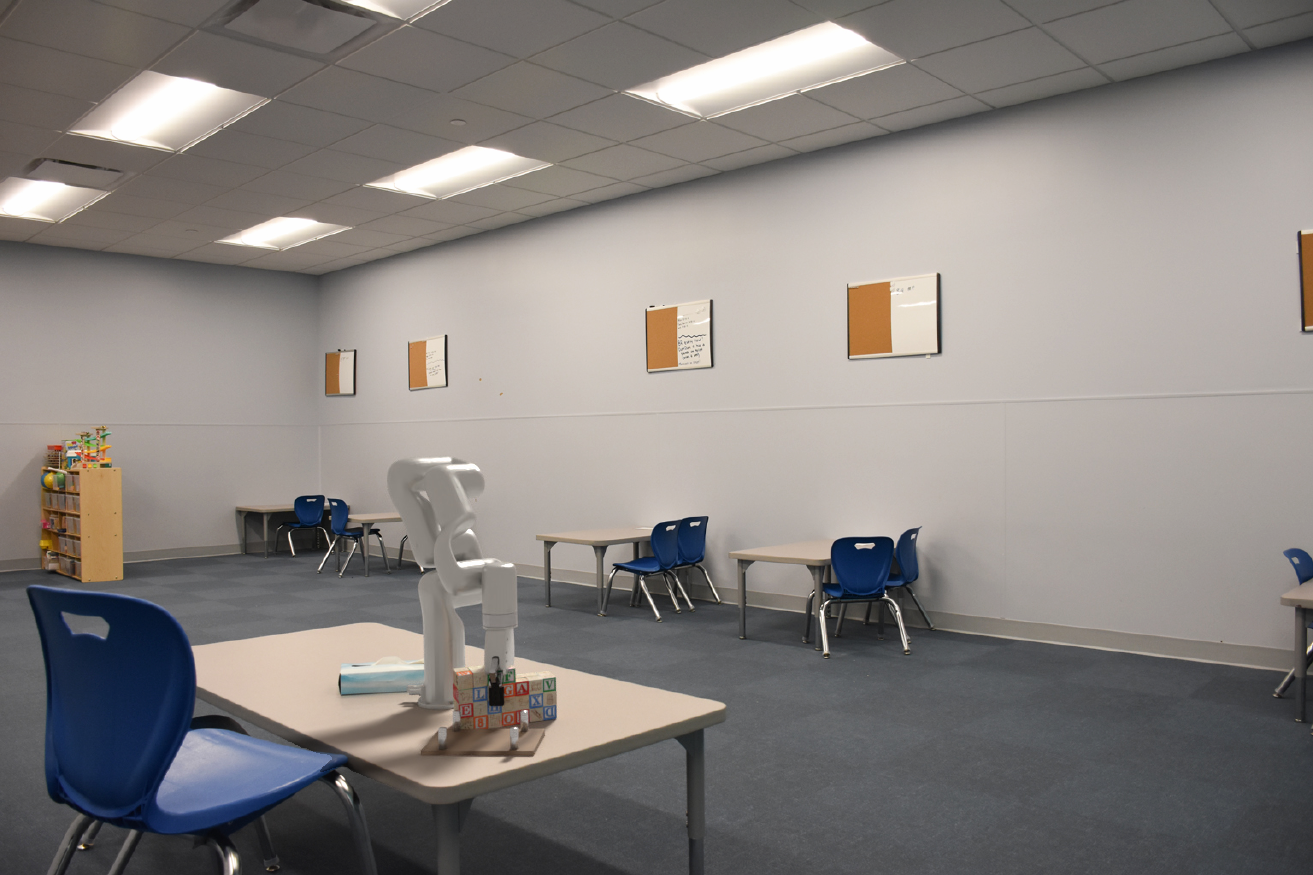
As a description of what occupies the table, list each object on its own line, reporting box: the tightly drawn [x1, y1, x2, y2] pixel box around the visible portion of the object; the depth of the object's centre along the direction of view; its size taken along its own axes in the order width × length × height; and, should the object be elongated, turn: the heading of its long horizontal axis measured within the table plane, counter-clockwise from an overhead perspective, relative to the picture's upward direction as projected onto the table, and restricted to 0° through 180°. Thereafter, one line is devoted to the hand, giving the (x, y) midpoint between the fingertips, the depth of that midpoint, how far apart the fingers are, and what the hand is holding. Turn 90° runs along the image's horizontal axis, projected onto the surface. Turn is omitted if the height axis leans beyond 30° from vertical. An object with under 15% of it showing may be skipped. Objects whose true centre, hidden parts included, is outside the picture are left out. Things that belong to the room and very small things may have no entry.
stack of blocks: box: [453, 664, 558, 729], centre depth 199 cm, size 21×6×12 cm, turn 113°
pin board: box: [420, 709, 546, 757], centre depth 183 cm, size 22×13×6 cm, turn 88°
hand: (501, 698), depth 199 cm, fingers open, 9 cm apart
